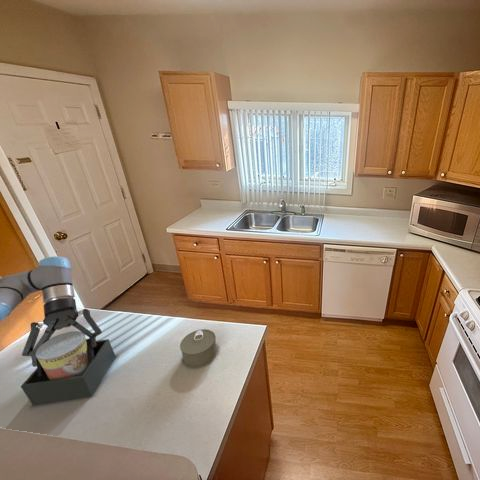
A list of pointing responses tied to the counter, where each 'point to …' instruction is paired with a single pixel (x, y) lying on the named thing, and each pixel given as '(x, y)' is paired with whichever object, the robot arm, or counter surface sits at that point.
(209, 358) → the can
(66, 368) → the canned food
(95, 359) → the open dark gray bin
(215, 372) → the counter surface
